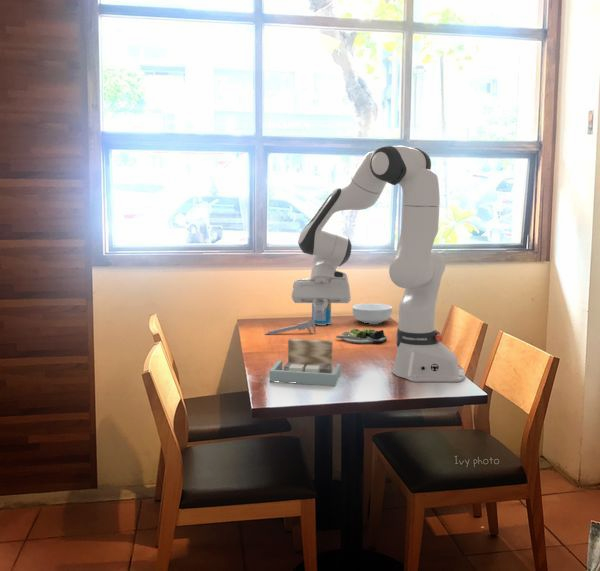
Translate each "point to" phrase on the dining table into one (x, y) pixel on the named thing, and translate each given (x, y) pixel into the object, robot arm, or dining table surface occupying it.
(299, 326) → the caliper
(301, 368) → the cream block
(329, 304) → the beverage bottle
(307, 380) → the tray
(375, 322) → the cereal bowl
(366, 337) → the salad plate
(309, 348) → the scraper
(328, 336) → the dining table surface
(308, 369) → the cream block
